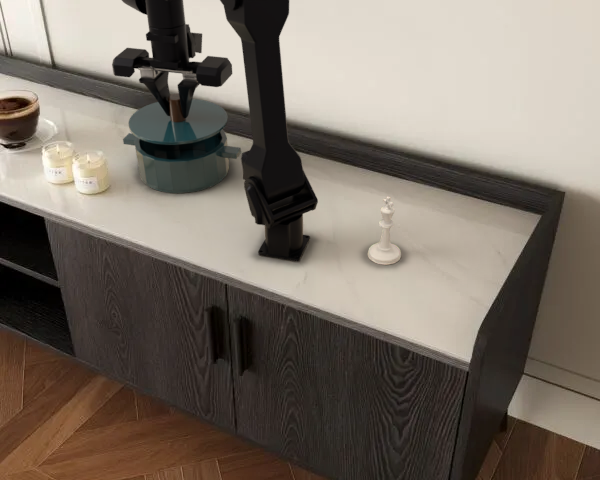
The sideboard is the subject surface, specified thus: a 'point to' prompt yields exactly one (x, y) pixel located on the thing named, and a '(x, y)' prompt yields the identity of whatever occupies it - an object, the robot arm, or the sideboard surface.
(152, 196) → the sideboard surface
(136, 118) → the lid
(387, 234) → the chess piece
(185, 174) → the pot
